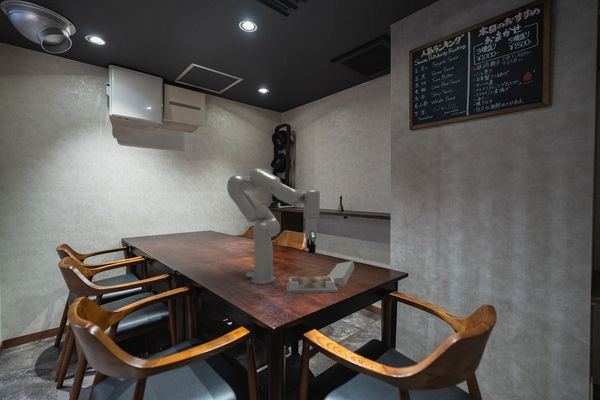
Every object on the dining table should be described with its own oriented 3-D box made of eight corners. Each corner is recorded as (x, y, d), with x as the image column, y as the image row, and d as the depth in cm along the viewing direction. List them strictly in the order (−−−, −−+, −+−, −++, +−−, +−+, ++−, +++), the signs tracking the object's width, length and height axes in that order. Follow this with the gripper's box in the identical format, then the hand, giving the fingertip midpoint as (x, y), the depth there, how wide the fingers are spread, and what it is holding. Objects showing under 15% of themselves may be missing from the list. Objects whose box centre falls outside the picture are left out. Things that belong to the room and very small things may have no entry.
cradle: (286, 292, 121) (286, 283, 121) (286, 285, 131) (286, 276, 131) (337, 291, 123) (337, 282, 122) (333, 284, 133) (333, 275, 132)
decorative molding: (326, 289, 134) (345, 286, 130) (324, 280, 134) (343, 277, 131) (339, 271, 166) (354, 268, 162) (337, 263, 166) (352, 260, 163)
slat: (295, 288, 124) (295, 279, 124) (295, 285, 128) (295, 277, 128) (328, 287, 125) (328, 279, 125) (327, 284, 129) (327, 276, 129)
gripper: (302, 213, 135) (302, 246, 135) (305, 217, 118) (304, 254, 118) (317, 214, 135) (316, 246, 136) (321, 217, 118) (321, 254, 118)
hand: (310, 250), depth 127 cm, fingers open, 9 cm apart
